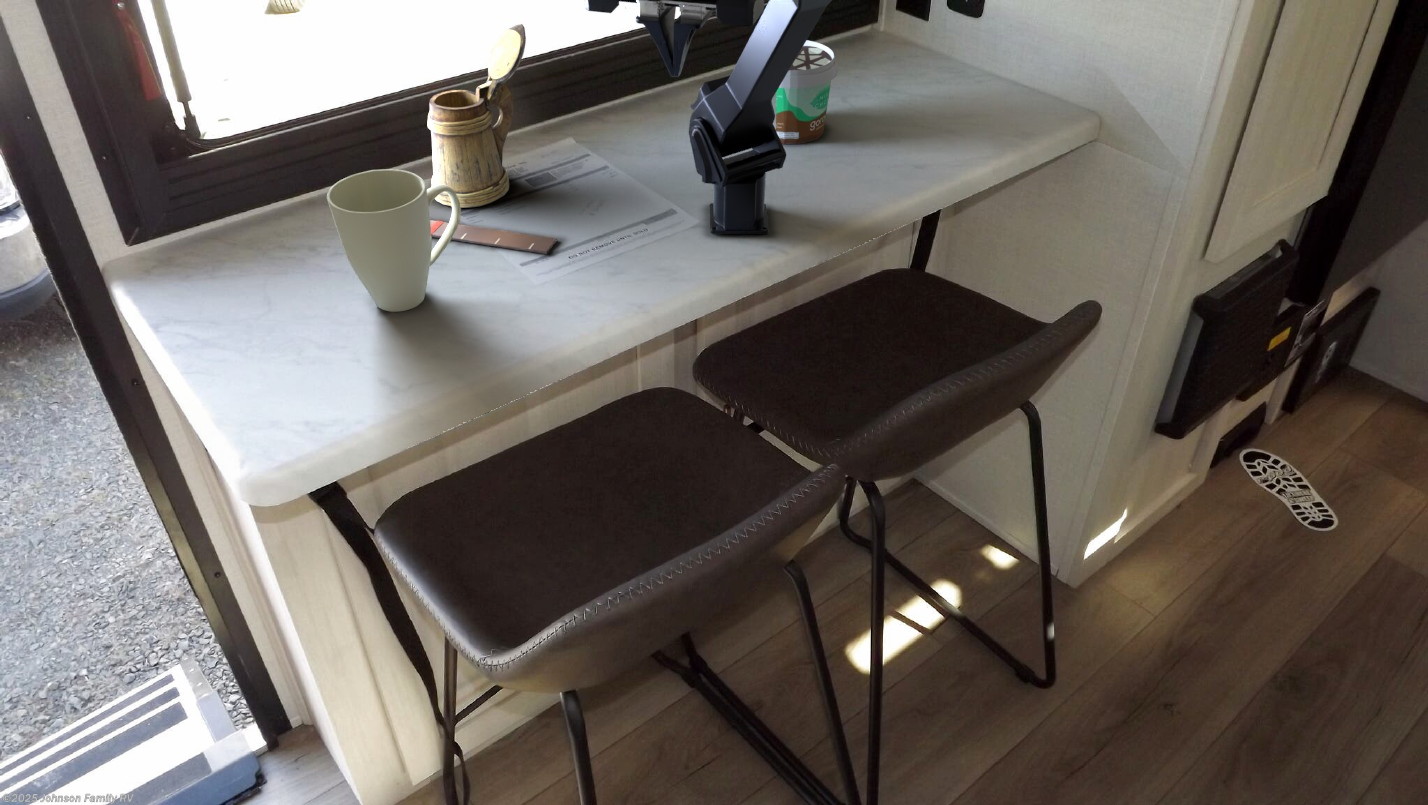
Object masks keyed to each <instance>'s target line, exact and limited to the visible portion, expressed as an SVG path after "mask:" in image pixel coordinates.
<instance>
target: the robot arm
mask: <svg viewBox="0 0 1428 805" xmlns="http://www.w3.org/2000/svg"><path fill="white" fill-rule="evenodd" d="M832 1H833V0H768V2H767V4H766V5H765V0H584V5H585V10H586V11H588V12H594V13H605V14H612V13H613V12H614V11H615V10H616V9H617V8H618V7H619V6H620V3H632V4H637V12H638V15H636V16H635V22H636V24H638V25H639V24H640V25H643V26H644V28H645V29H646V31H647V32H648V34H649V35H650V37H651V39H652V40H653V42H654V44H655V45H656V47H657V50H658V52H659V54H660V55H661V58H662V60H663V62H664V64H665V67H666V68H667V71H668V74H669V75H670V77H672V78H679V77H680V76H681V73H682V70H683V67H684V64H685V61H686V59H687V58H686V57H687V55H688V53H689V52H688V51H689V48H690V46H691V42H692V39H693V37H694V35H695V33H696V30H700V29H702V28H703V26H704V25H705V24H706V22H707V21H708V20H710V18H711V17H712V16H713V12H714V11H715V17H716V18H717V19H718V20H719V22H721V24H722V25H726V26H727V25H729V26H739V27H750V26H754V24H755V23H756V22H757V23H756V25H755V27H754V29H753V31H752V33H751V35H750V36H749V39H748V41H747V42H746V44H745V46H744V48H743V50H742V52H741V54H740V56H739V58H738V60H737V62H736V63H735V65H734V67H733V70H732V71H731V73H730V74H729V75H726V76H723V77H719V78H715V79H712V80H711V79H710V80H707V81H704V82H703V84H702V85H701V86H700V88H699V91H698V94H697V97H696V99H695V101H693V103H691V104H690V106H689V107H690V109H692V110H693V111H692V112H691V114H690V118H689V123H688V124H689V125H688V137H689V142H690V147H691V151H692V152H691V153H692V156H693V161H694V166H695V170H696V173H697V174H698V175H699V176H701V181H702V183H704V184H707V185H708V184H709V185H710V184H711V185H713V202H712V203H709V232H710V234H712V235H766V234H769V231H770V227H769V220H768V218H769V217H768V209H767V204H766V203H765V198H766V197H765V196H766V173H768V172H772V171H775V170H780V169H783V168H784V164H785V162H786V158H787V151H786V149H785V148H784V144H782V143H781V140H780V138H779V136H778V134H777V132H776V126H774V123H775V120H776V112H775V109H774V106H773V98H774V96H776V91H777V90H778V88H779V86H780V85H781V83H782V81H783V79H784V78H785V76H786V74H787V73H788V71H789V69H790V68H791V66H792V64H793V62H794V61H795V59H796V57H797V56H798V54H799V52H800V51H801V49H802V47H803V45H804V44H805V42H806V40H808V39H809V37H810V35H811V33H812V32H813V30H814V28H815V26H816V25H817V23H818V22H819V20H820V18H821V17H822V15H823V13H824V12H825V10H826V8H827V6H828V5H830V3H831V2H832ZM677 8H679V12H680V15H679V16H678V17H677V18H676V11H677V10H676V9H677ZM758 19H759V20H758ZM757 20H758V21H757ZM745 151H746V152H745ZM738 153H739V154H738ZM731 155H732V156H731Z"/></svg>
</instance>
